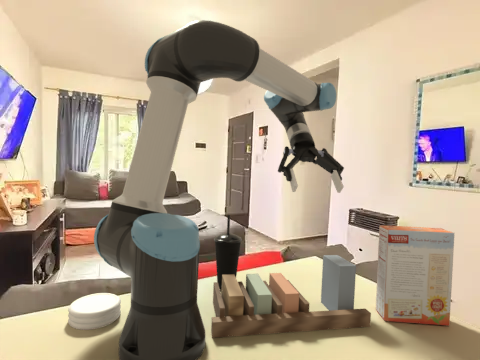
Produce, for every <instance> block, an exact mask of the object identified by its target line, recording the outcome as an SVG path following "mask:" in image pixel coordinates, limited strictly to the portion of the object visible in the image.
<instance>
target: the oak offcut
mask: <svg viewBox="0 0 480 360" xmlns="http://www.w3.org/2000/svg"><path fill="white" fill-rule="evenodd" d="M238 282H239V281H238V279H237V276H236V277H235V275H234V274H229V275H222V290H221V291H220V292H221V296H222V299H223V303H224V307H225V316H242V315H243V305H244V295H243V293H242V290H241V288H240V286H239V284H238Z"/></svg>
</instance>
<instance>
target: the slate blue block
mask: <svg viewBox="0 0 480 360" xmlns="http://www.w3.org/2000/svg"><path fill="white" fill-rule="evenodd" d="M321 269H322V272H321V273H322V274H321V289H320V290H321V291H320V293H321V295H320V303H321V304H322V305H323V306H324V307H325V308H326V309H327V311H330V310H347V309H355V293H356V292H355V290H356V278H357V277H356V272H357V265H355V264H354V263H352V262H351V261H348V260H347V259H345V258H344V257H342V256H340V255H338V254H329V255H327V254H326V255H325V254H324V255H323V256H322V268H321Z"/></svg>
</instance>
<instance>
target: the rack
mask: <svg viewBox="0 0 480 360" xmlns="http://www.w3.org/2000/svg"><path fill="white" fill-rule="evenodd" d="M287 280H288V281H289V283H290V284H291V285H292V286H293V287H294V288H295V289H296V290H297V291H298V293H299V307H298V312H295V313H282V304H281V302H280V301H279V299H278V298H277V297H276V295H275V294H274V292H273V291H272V289H271V288H270V287H269V283H268V282H267V281H266V280H263V282H264V283H265V285H266V286H267V288H268V289H269V291H270V292H271V294H272V306H271V314H259V315H254V305H253V303H252V301H251V299H250V297H249V295H248V293H247V291H246V286H245V285H244V283H243V281H237V282H238V284H239V286H240V288H241V290H242V293H243V295H244V305H243V315H242V316H225V307H224V303H223V299H222V296H221V292H222V291H221V289H219V285H218V282H217V281H216V282H215V281H214V282H213V289H212V290H213V291H212V292H213V293H212V305H213V309H214V314H215V315H214V316H212V317H211V325H210V326H211V327H210V328H211V329H210V333H211V334H210V335H211V338H212V339H214V338H227V337H240V336H241V337H243V336H254V335H255V336H256V335H268V334H269V335H270V334H283V333H284V334H285V333H286V334H287V333H299V332H310V331H311V332H312V331H326V330H341V329H342V330H343V329H355V328H369V327H371V319H372V318H371V317H372V312H370V311H369V310H368V309H367V308H354V309H347V310H330V311H329V310H316V311H315V310H313V311H310V302H309V301H308V300H307V299H306V298H305V296H304V295H302V293H300V291H299V290H298V289H297V288H296V287H295V286H294V284H292V283H291V281H290V280H289V279H287Z"/></svg>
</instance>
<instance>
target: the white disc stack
mask: <svg viewBox="0 0 480 360" xmlns="http://www.w3.org/2000/svg"><path fill="white" fill-rule="evenodd" d="M121 303H122V300H121V297H120V296H118V295H117V294H114V293H109V292H98V293H92V294H88V295H85V296H84V295H83V296H81V297H79V298H77V299H75V300H74V301H72V303H70V304H69V307H68V310H67V311H68V314H67V318H68V320H67V321H68V325H69V326H70V327H71V328H73V329H75V330H82V331H83V330H85V331H87V330H88V331H89V330H96V329H100V328H103V327H106V326H108V325H111V324H112V323H114V322H115V321H116V320H118V318H119V317H120V315H121V311H122V310H121V307H122V305H121Z"/></svg>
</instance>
